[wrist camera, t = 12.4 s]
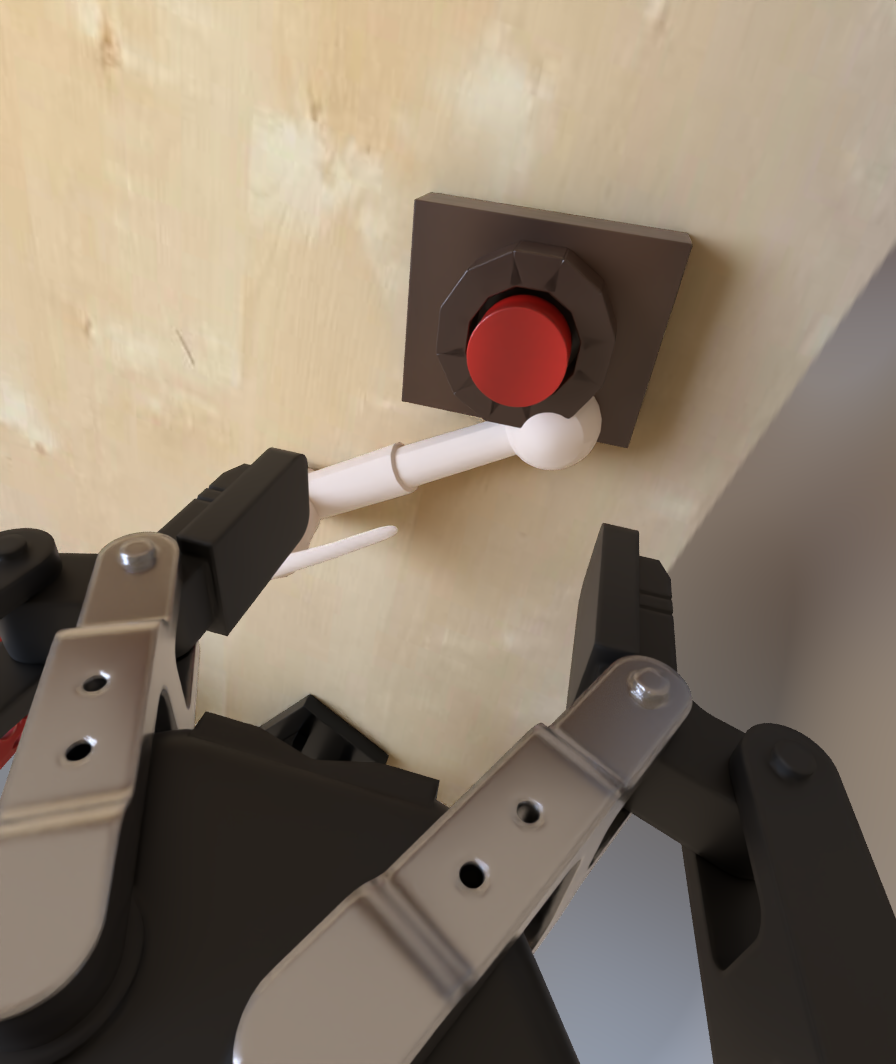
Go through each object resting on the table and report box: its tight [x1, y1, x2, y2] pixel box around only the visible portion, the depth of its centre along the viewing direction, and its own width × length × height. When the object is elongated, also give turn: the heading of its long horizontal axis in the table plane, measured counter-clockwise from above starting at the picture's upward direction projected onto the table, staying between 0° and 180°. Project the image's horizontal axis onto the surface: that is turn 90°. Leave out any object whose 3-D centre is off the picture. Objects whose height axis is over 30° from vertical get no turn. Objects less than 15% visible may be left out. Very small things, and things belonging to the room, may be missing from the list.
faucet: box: [271, 396, 602, 579], centre depth 28 cm, size 4×18×10 cm, turn 115°
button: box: [466, 295, 572, 407], centre depth 22 cm, size 4×4×2 cm
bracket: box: [260, 695, 389, 764], centre depth 43 cm, size 10×8×14 cm
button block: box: [402, 192, 692, 448], centre depth 24 cm, size 10×8×4 cm
